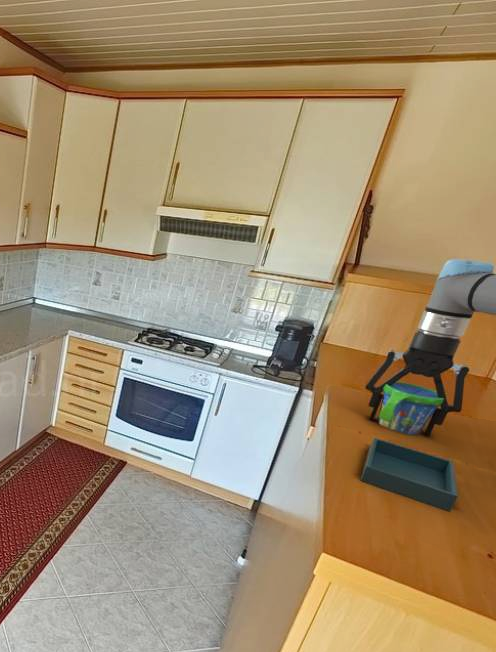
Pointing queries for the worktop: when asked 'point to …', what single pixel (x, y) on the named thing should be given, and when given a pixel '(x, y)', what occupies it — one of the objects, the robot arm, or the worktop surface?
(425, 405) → the snack cup
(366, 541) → the worktop surface
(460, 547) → the worktop surface
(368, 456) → the rectangular tray
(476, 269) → the robot arm
